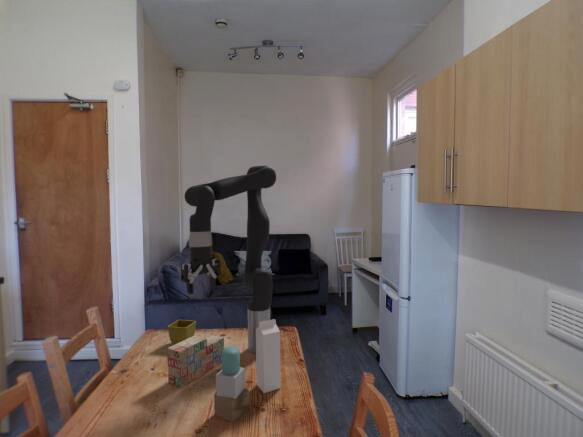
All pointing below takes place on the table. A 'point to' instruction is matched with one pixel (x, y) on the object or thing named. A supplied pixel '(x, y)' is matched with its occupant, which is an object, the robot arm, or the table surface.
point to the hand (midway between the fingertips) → (201, 291)
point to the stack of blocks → (193, 358)
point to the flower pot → (181, 330)
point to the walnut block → (231, 406)
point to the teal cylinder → (230, 361)
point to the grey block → (230, 384)
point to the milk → (268, 356)
